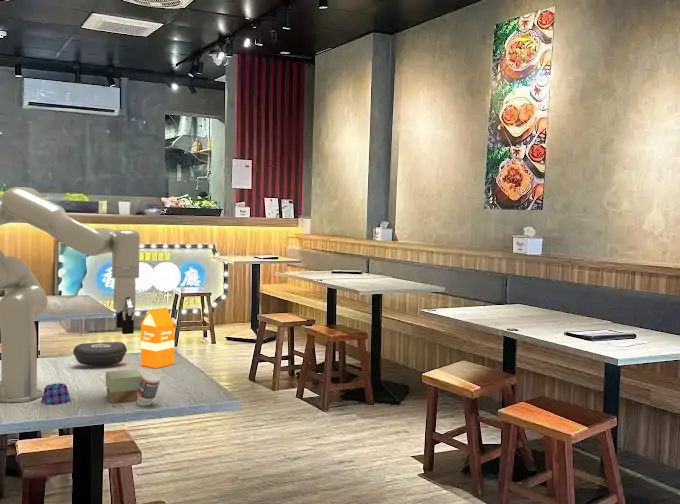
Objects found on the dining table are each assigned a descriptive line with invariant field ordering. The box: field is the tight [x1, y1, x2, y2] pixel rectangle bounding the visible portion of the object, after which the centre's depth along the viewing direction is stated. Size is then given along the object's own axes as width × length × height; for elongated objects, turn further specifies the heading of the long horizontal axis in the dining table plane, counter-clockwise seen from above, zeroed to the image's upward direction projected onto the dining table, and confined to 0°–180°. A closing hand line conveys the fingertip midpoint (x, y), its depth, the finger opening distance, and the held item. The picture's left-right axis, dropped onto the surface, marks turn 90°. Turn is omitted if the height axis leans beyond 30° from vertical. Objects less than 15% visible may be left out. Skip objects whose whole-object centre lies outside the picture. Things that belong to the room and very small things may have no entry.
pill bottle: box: [136, 371, 161, 407], centre depth 205 cm, size 5×5×9 cm
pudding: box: [33, 382, 79, 408], centre depth 206 cm, size 12×12×5 cm
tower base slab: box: [106, 386, 138, 404], centre depth 210 cm, size 9×9×4 cm
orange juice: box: [140, 307, 175, 369], centre depth 254 cm, size 8×9×20 cm
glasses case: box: [72, 341, 128, 367], centre depth 253 cm, size 18×10×8 cm, turn 111°
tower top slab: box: [105, 368, 143, 393], centre depth 211 cm, size 9×9×4 cm
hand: (124, 330), depth 209 cm, fingers open, 9 cm apart
